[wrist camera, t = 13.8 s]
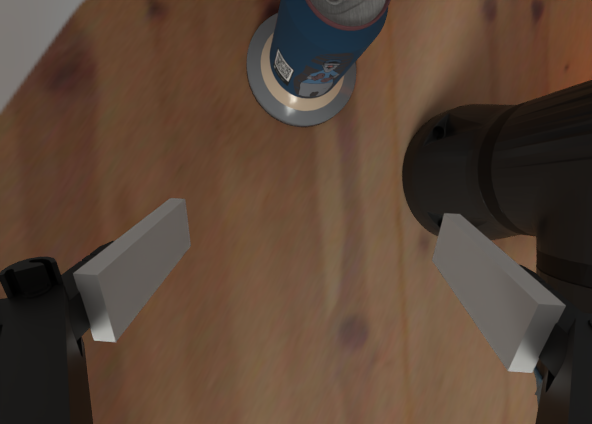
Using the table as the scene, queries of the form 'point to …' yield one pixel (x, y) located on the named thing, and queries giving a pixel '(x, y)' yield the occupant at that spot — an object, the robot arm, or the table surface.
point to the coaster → (279, 99)
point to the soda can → (321, 41)
